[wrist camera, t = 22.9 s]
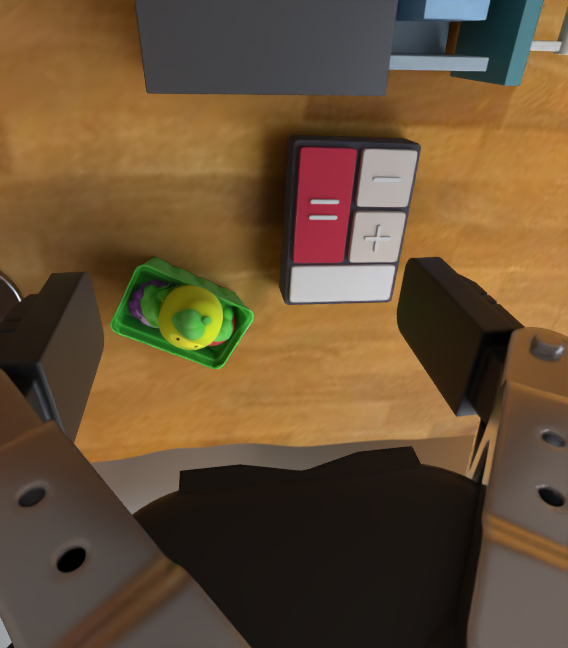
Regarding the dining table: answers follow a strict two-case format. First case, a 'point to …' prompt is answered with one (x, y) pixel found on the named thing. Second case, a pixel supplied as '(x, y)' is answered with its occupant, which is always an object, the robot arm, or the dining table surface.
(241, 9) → the cabinet
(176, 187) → the dining table surface
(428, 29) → the drawer
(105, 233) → the dining table surface
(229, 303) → the fruit basket
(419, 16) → the blue block
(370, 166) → the calculator
